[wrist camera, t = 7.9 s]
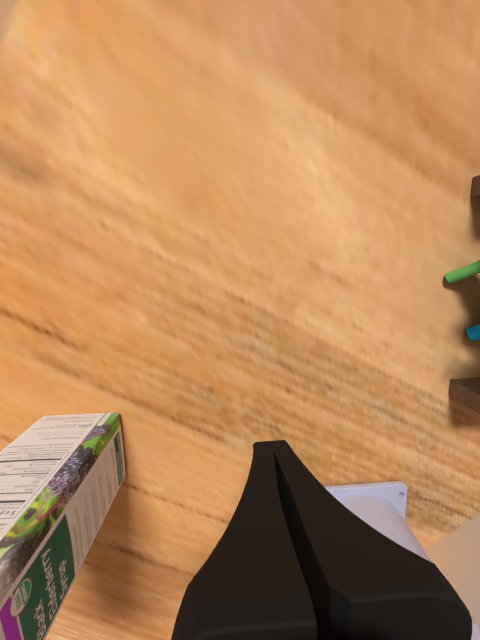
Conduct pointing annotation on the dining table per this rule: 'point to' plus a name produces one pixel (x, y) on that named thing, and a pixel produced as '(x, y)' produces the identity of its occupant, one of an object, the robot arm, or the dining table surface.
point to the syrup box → (52, 513)
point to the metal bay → (468, 390)
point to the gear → (475, 331)
